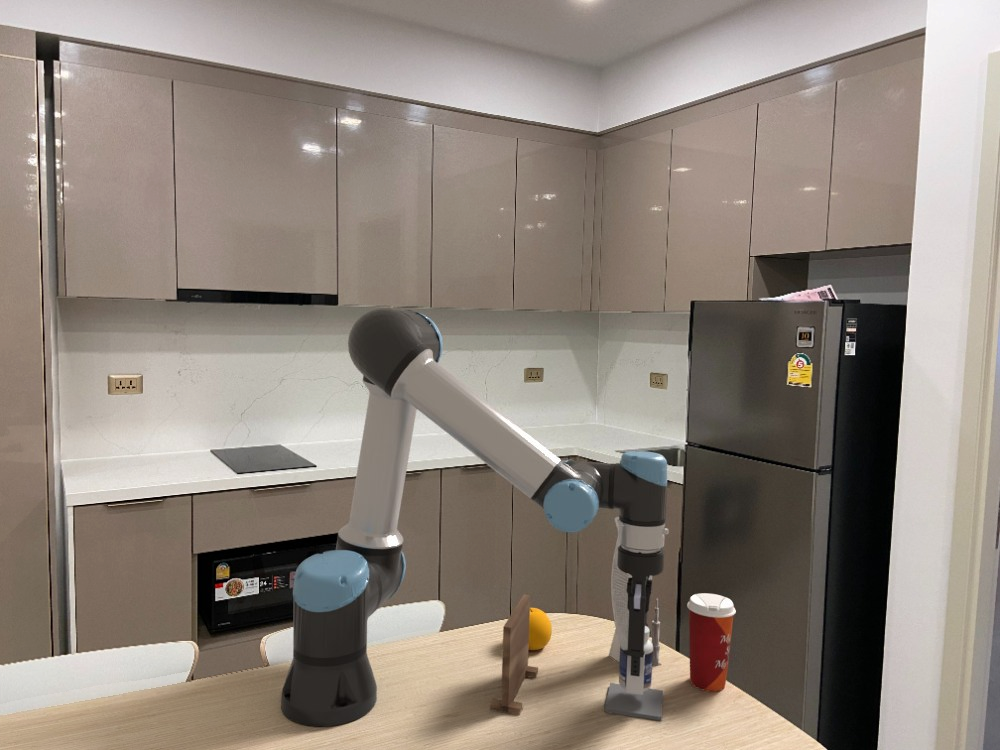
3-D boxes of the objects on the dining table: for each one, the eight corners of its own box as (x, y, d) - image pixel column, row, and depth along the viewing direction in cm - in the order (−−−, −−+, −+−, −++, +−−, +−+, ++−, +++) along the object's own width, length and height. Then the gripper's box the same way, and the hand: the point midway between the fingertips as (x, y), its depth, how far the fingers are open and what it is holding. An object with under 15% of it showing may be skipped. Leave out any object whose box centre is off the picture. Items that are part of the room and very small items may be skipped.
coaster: (604, 711, 119) (604, 708, 119) (610, 686, 127) (610, 682, 127) (661, 720, 116) (661, 717, 116) (663, 693, 125) (663, 690, 125)
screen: (489, 709, 118) (491, 625, 117) (511, 668, 133) (513, 593, 132) (519, 714, 117) (522, 629, 116) (538, 672, 131) (540, 596, 131)
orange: (547, 657, 138) (548, 619, 137) (506, 652, 140) (507, 614, 139) (554, 640, 145) (555, 603, 145) (515, 635, 147) (516, 599, 147)
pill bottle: (626, 694, 118) (629, 636, 118) (613, 679, 124) (615, 623, 123) (657, 691, 120) (659, 633, 119) (642, 676, 125) (644, 620, 124)
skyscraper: (624, 675, 132) (631, 522, 131) (598, 656, 139) (604, 512, 138) (661, 666, 136) (667, 518, 134) (634, 648, 143) (640, 508, 142)
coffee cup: (734, 697, 125) (738, 611, 124) (684, 691, 126) (688, 606, 125) (729, 675, 133) (733, 594, 132) (682, 669, 134) (686, 589, 134)
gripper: (662, 566, 110) (656, 715, 112) (666, 533, 128) (660, 662, 130) (612, 560, 112) (607, 707, 114) (622, 529, 130) (618, 657, 131)
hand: (635, 683), depth 122 cm, fingers closed on pill bottle, 5 cm apart
